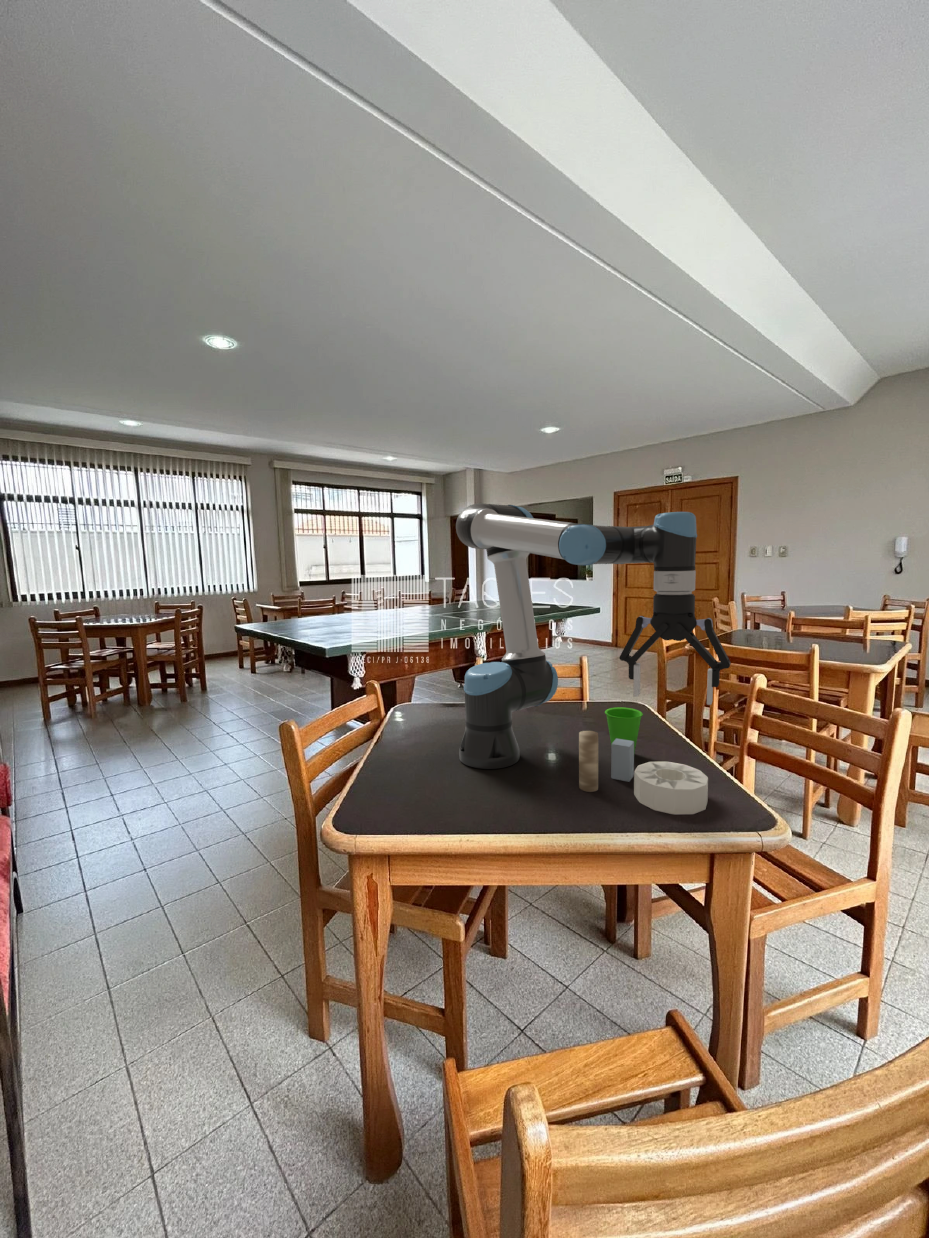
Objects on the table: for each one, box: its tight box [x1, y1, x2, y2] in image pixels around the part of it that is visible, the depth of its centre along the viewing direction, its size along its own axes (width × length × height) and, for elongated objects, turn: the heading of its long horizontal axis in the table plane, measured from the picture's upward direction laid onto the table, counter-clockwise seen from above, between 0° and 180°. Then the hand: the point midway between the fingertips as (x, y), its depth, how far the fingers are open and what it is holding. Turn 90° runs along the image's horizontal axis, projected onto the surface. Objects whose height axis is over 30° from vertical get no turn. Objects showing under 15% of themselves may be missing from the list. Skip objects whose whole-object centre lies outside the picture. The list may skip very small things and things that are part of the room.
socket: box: [633, 761, 709, 815], centre depth 102 cm, size 14×14×5 cm
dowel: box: [578, 730, 599, 793], centre depth 108 cm, size 4×4×12 cm
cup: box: [604, 706, 644, 755], centre depth 125 cm, size 9×9×11 cm
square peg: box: [610, 738, 635, 783], centre depth 113 cm, size 4×4×8 cm
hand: (671, 699), depth 100 cm, fingers open, 13 cm apart
